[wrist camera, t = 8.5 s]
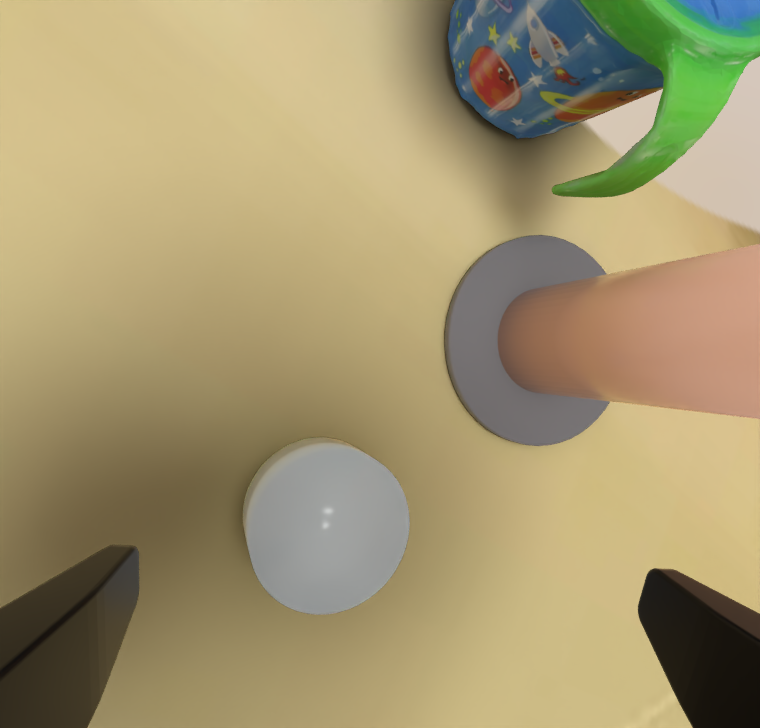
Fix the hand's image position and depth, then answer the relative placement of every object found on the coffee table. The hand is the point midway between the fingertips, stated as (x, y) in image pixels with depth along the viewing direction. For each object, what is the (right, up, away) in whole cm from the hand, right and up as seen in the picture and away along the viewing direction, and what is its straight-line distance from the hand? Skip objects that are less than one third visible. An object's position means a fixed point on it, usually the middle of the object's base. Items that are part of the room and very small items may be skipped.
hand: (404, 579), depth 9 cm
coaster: (+7, +5, +16) cm, 18 cm away
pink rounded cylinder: (+7, +5, +15) cm, 17 cm away
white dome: (-3, -2, +12) cm, 13 cm away
